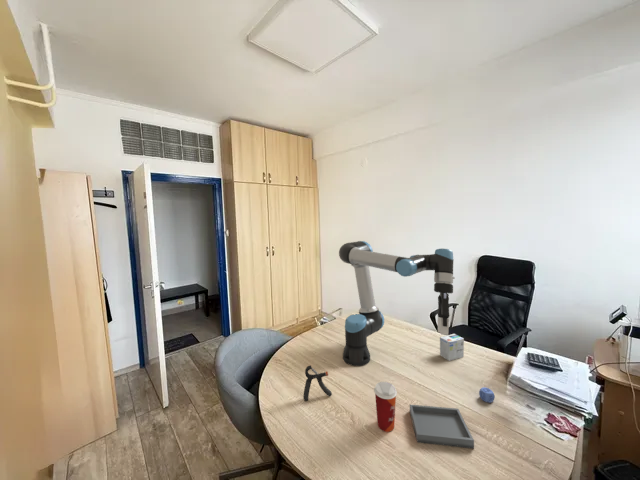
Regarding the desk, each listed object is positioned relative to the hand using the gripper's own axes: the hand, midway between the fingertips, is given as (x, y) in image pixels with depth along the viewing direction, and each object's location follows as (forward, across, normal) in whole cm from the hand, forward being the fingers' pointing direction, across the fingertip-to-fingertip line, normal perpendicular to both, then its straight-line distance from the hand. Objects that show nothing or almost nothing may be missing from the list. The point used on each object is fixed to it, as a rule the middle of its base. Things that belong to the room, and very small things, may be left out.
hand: (442, 333), depth 106 cm
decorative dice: (+24, +13, -18) cm, 33 cm away
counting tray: (+33, -8, +2) cm, 34 cm away
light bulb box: (+13, +43, -9) cm, 46 cm away
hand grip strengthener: (+35, -6, +50) cm, 61 cm away
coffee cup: (+35, -12, +20) cm, 42 cm away
